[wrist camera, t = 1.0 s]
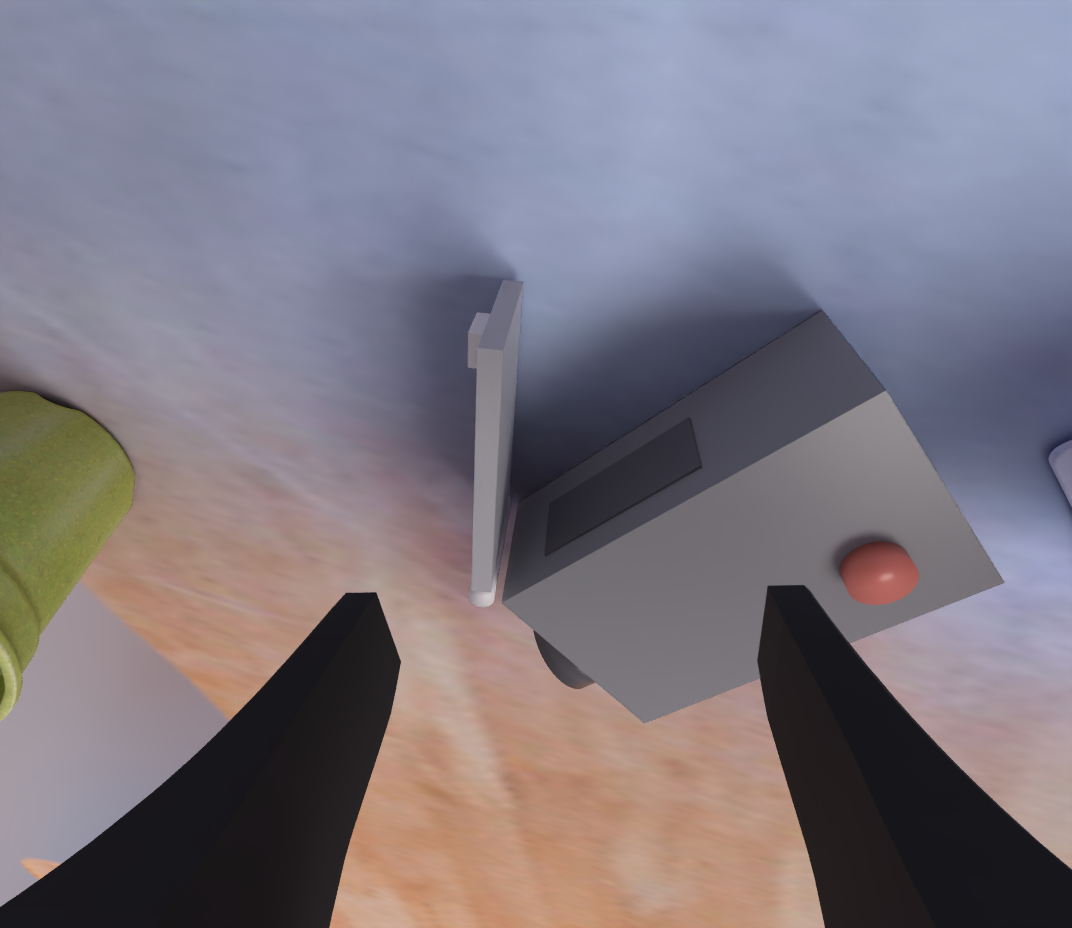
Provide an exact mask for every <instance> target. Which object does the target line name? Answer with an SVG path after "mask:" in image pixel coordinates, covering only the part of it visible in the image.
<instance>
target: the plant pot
mask: <svg viewBox="0 0 1072 928" xmlns="http://www.w3.org/2000/svg"><path fill="white" fill-rule="evenodd" d="M134 484H135V475H134V471H133V468H132V466H131V463H130V461H129V459H128V458H127V456H126V454H125V453H124V451H123V450H122V448H121V447H120V446H119V444H118V443H117V442H116V441H115V440H114V439H113V437H112V436H111V435H110V434H109V433H108V432H107V431H106V430H105V429H104V428H103V427H101V426H100V425H99V424H98V423H97V422H95V421H94V420H93V419H91V418H90V417H88V416H87V415H86V414H84V413H83V412H80V411H78V410H74V409H70V408H66V407H62V406H59V405H56V404H54V403H52V402H49V401H47V400H45V399H43V398H42V397H40V396H39V395H38V394H37V393H33V392H25V391H6V392H0V721H1V720H2V719H4V718H5V717H6V716H7V714H8V713H9V712H10V711H11V709H12V708H13V707H14V706H15V704H16V702H17V700H18V698H19V696H20V692H21V688H22V673H23V671H24V670H25V668H26V667H27V665H28V663H29V662H30V661H31V659H32V657H33V656H34V654H35V652H36V649H37V646H38V642H39V636H40V635H41V633H42V632H43V630H44V629H45V627H46V626H47V625H48V623H49V622H50V620H51V619H52V618H53V616H54V615H55V613H56V612H57V610H58V609H59V608H60V606H61V605H62V603H63V602H64V600H65V599H66V597H67V596H68V595H69V593H70V592H71V591H72V589H73V588H74V586H75V585H76V584H77V582H78V581H79V579H80V578H81V577H82V575H83V574H84V572H85V571H86V569H87V568H88V567H89V565H90V564H91V562H92V561H93V560H94V558H95V557H96V555H97V554H98V552H99V551H100V550H101V548H102V547H103V546H104V544H105V543H106V541H107V540H108V539H109V537H110V536H111V534H112V533H113V532H114V530H115V529H116V528H117V526H118V525H119V523H120V522H121V520H122V519H123V518H124V516H125V515H126V513H127V512H128V511H129V509H130V508H131V506H132V501H133V491H134Z"/></svg>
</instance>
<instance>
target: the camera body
mask: <svg viewBox="0 0 1072 928" xmlns="http://www.w3.org/2000/svg"><path fill="white" fill-rule="evenodd" d="M1003 583H1005V582H1004V581H1003V579H1002V577H1001V576H1000V574H999V572H998V571H997V569H996V568H995V566H994V564H993V563H992V561H991V559H990V558H989V556H988V555H987V553H986V551H985V550H984V548H983V546H982V545H981V543H980V542H979V540H978V538H977V537H976V535H975V534H974V532H973V530H972V529H971V527H970V525H969V524H968V522H967V521H966V519H965V517H964V516H963V514H962V512H961V511H960V509H959V508H958V506H957V504H956V503H955V501H954V499H953V498H952V496H951V495H950V493H949V491H948V490H947V488H946V486H945V485H944V483H943V482H942V480H941V478H940V477H939V475H938V473H937V472H936V470H935V469H934V467H933V465H932V464H931V462H930V460H929V459H928V457H927V456H926V454H925V452H924V451H923V449H922V447H921V446H920V444H919V443H918V441H917V439H916V438H915V436H914V434H913V433H912V431H911V430H910V428H909V426H908V425H907V423H906V422H905V420H904V418H903V417H902V415H901V413H900V412H899V410H898V409H897V407H896V405H895V404H894V402H893V400H892V399H891V397H890V396H889V394H888V392H887V391H886V389H885V388H884V387H883V386H882V384H881V383H880V382H879V381H878V379H877V378H876V377H875V375H874V374H873V373H872V372H871V370H870V369H869V368H868V367H867V365H866V364H865V363H864V362H863V360H862V359H861V358H860V357H859V355H858V354H857V353H856V352H855V350H854V349H853V348H852V347H851V345H850V344H849V343H848V341H847V340H846V339H845V338H844V336H843V335H842V334H841V333H840V331H839V330H838V329H837V328H836V326H835V325H834V324H833V323H832V321H831V320H830V319H829V318H828V316H827V315H826V314H825V313H824V311H823V310H821V311H820V312H818V313H817V314H815V315H813V316H812V317H810V318H809V319H807V320H805V321H804V322H802V323H801V324H799V325H798V326H796V327H794V328H793V329H791V330H790V331H788V332H787V333H785V334H783V335H782V336H780V337H779V338H777V339H776V340H774V341H772V342H771V343H769V344H768V345H766V346H765V347H763V348H761V349H760V350H758V351H757V352H755V353H754V354H752V355H750V356H749V357H747V358H746V359H744V360H742V361H741V362H739V363H738V364H736V365H735V366H733V367H731V368H730V369H728V370H727V371H725V372H724V373H722V374H720V375H719V376H717V377H716V378H714V379H713V380H711V381H709V382H708V383H706V384H705V385H703V386H702V387H700V388H698V389H697V390H695V391H694V392H692V393H691V394H689V395H687V396H686V397H684V398H683V399H681V400H679V401H678V402H676V403H675V404H673V405H672V406H670V407H668V408H667V409H665V410H664V411H662V412H661V413H659V414H657V415H656V416H654V417H653V418H651V419H650V420H648V421H646V422H645V423H643V424H642V425H640V426H639V427H637V428H635V429H634V430H632V431H631V432H629V433H628V434H626V435H624V436H623V437H621V438H620V439H618V440H617V441H615V442H613V443H612V444H610V445H609V446H607V447H605V448H604V449H602V450H601V451H599V452H598V453H596V454H594V455H593V456H591V457H590V458H588V459H587V460H585V461H583V462H582V463H580V464H579V465H577V466H576V467H574V468H572V469H571V470H569V471H568V472H566V473H565V474H563V475H561V476H560V477H558V478H557V479H555V480H554V481H552V482H550V483H549V484H547V485H546V486H544V487H542V488H541V489H539V490H538V491H536V492H535V493H533V494H531V495H530V496H528V497H527V498H525V499H524V500H522V501H520V502H519V503H518V509H517V515H516V521H515V527H514V532H513V538H512V544H511V550H510V556H509V562H508V568H507V574H506V580H505V586H504V592H503V598H502V604H504V605H505V606H506V607H507V608H508V609H510V610H511V611H512V612H513V613H514V614H515V615H517V616H518V617H519V618H520V619H521V620H523V621H524V622H525V623H526V624H527V625H528V626H530V627H531V628H532V629H533V630H534V635H535V639H536V642H537V645H538V648H539V651H540V653H541V655H542V657H543V659H544V661H545V662H546V664H547V666H548V667H549V669H550V670H551V671H552V673H553V674H554V675H555V676H556V677H557V678H558V679H559V680H560V681H561V682H562V683H564V684H565V685H567V686H569V687H571V688H574V689H581V688H584V687H586V686H588V685H591V684H593V683H595V682H596V683H597V684H598V685H600V686H601V687H602V688H603V689H604V690H605V691H607V692H608V693H609V694H610V695H611V696H613V697H614V698H615V699H616V700H617V701H618V702H620V703H621V704H622V705H623V706H624V707H626V708H627V709H628V710H629V711H630V712H631V713H633V714H634V715H635V716H636V717H637V718H639V719H640V720H641V721H642V722H643V723H647V722H649V721H652V720H654V719H657V718H659V717H662V716H664V715H667V714H670V713H672V712H675V711H677V710H680V709H682V708H685V707H688V706H690V705H693V704H695V703H698V702H700V701H703V700H705V699H708V698H711V697H713V696H716V695H718V694H721V693H723V692H726V691H729V690H731V689H734V688H736V687H739V686H741V685H744V684H746V683H749V682H752V681H754V680H757V679H759V678H760V674H759V668H758V663H757V659H758V651H759V644H760V637H761V630H762V623H763V616H764V608H765V601H766V594H767V587H768V586H774V585H805V586H806V587H807V588H808V589H809V590H810V591H811V593H812V594H813V595H814V597H815V598H816V600H817V601H818V602H819V604H820V605H821V606H822V608H823V609H824V611H825V612H826V613H827V615H828V616H829V617H830V619H831V620H832V621H833V623H834V624H835V625H836V627H837V628H838V629H839V631H840V632H841V633H842V634H843V636H844V637H845V638H846V640H847V641H848V642H849V643H851V642H854V641H857V640H859V639H862V638H864V637H867V636H869V635H872V634H874V633H877V632H880V631H882V630H885V629H887V628H890V627H892V626H895V625H898V624H900V623H903V622H905V621H908V620H910V619H913V618H915V617H918V616H921V615H923V614H926V613H928V612H931V611H933V610H936V609H938V608H941V607H944V606H946V605H949V604H951V603H954V602H956V601H959V600H962V599H964V598H967V597H969V596H972V595H974V594H977V593H979V592H982V591H985V590H987V589H990V588H992V587H995V586H997V585H1000V584H1003Z"/></svg>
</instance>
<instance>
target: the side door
mask: <svg viewBox="0 0 1072 928" xmlns="http://www.w3.org/2000/svg"><path fill="white" fill-rule="evenodd" d="M522 296H523V282H522V281H513V280H503V281H502V284H501V286H500V289H499V292H498V294H497V297H496V300H495V302H494V305H493V308H492V310H491V313H490V314H488V313H479V312H477V313H476V315H475V318H474V320H473V322H472V325H471V327H470V329H469V332H468V368H475V369H477V381H476V423H475V464H474V506H473V547H472V581H471V586H470V590H469V594H468V599H469V601H470V602H471V603H472V604H473V605H475V606H478V607H488V606H490V605H491V604H492V603H493V602H494V597H495V591H496V586H497V580H498V575H499V569H500V564H501V558H502V553H503V547H504V542H505V536H506V531H507V525H508V520H509V514H510V509H511V503H512V501H511V498H510V497H509V494H510V479H511V463H512V448H513V433H514V418H515V402H516V387H517V372H518V357H519V342H520V326H521V311H522Z"/></svg>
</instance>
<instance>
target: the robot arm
mask: <svg viewBox="0 0 1072 928" xmlns="http://www.w3.org/2000/svg"><path fill="white" fill-rule="evenodd" d="M1049 463H1050V465H1051V467H1052V469H1053V471H1054V473H1055V475H1056V477H1057V479H1058V481H1059V483H1060V485H1061V487H1062V489H1063V491H1064V493H1065V495H1066V497H1067V499H1068V501H1069V503H1070V505H1071V507H1072V440H1070V441H1068V442H1066V443H1063V444H1061V445H1059V446H1058V447H1056V448H1055V449H1054V450H1053V451H1052V452H1051V453H1050V456H1049ZM757 663H758V668H759V674H760V680H761V685H762V691H763V696H764V702H765V707H766V712H767V717H768V721H769V724H770V727H771V731H772V734H773V738H774V741H775V744H776V748H777V751H778V754H779V758H780V761H781V764H782V768H783V771H784V774H785V778H786V781H787V784H788V787H789V791H790V794H791V797H792V801H793V804H794V807H795V811H796V814H797V817H798V820H799V824H800V827H801V830H802V834H803V837H804V840H805V844H806V847H807V851H808V854H809V858H810V862H811V866H812V870H813V873H814V877H815V882H816V887H817V891H818V896H819V901H820V906H821V910H822V915H823V920H824V925H825V928H1072V869H1070V868H1069V867H1068V866H1067V865H1066V864H1064V863H1063V862H1062V861H1061V860H1060V859H1059V858H1057V857H1056V856H1055V855H1054V854H1053V853H1051V852H1050V851H1049V850H1048V849H1047V848H1045V847H1044V846H1043V845H1042V844H1041V843H1040V842H1039V841H1037V840H1036V839H1035V838H1034V837H1033V836H1032V835H1031V834H1030V833H1029V832H1028V831H1026V830H1025V829H1024V828H1023V827H1022V826H1021V825H1020V824H1019V823H1018V822H1017V821H1015V820H1014V819H1013V818H1012V817H1011V816H1010V815H1009V814H1008V813H1007V812H1006V811H1004V810H1003V809H1002V808H1001V807H1000V806H999V805H998V804H997V803H996V802H995V801H994V800H993V799H992V798H991V797H990V796H989V795H988V794H986V793H985V792H984V791H983V790H982V789H981V788H980V787H979V786H978V785H977V784H976V783H975V782H974V781H973V780H972V779H971V778H970V777H969V776H968V775H967V774H966V773H965V772H964V771H963V770H962V769H961V768H960V767H959V766H958V765H957V764H956V763H955V762H954V761H953V760H952V759H951V758H950V757H949V756H948V755H947V754H946V753H945V752H944V751H943V750H942V749H941V748H940V747H939V746H938V745H937V744H936V743H935V741H934V740H933V739H932V738H931V737H930V736H929V735H928V734H927V733H926V732H925V731H924V730H923V729H922V728H921V726H920V725H919V724H918V723H917V722H916V721H915V720H914V719H913V718H912V717H911V716H910V715H909V713H908V712H907V711H906V710H905V709H904V708H903V707H902V706H901V704H900V703H899V702H898V701H897V700H896V699H895V698H894V696H893V695H892V694H891V693H890V692H889V691H888V689H887V688H886V687H885V686H884V685H883V683H882V682H881V681H880V680H879V679H878V678H877V676H876V675H875V674H874V673H873V672H872V671H871V669H870V668H869V667H868V666H867V665H866V663H865V662H864V661H863V660H862V658H861V657H860V656H859V655H858V653H857V652H856V651H855V650H854V648H853V647H852V646H851V645H850V643H849V642H848V641H847V640H846V638H845V637H844V636H843V634H842V633H841V632H840V631H839V629H838V628H837V627H836V625H835V624H834V623H833V621H832V620H831V619H830V617H829V616H828V615H827V613H826V612H825V611H824V609H823V608H822V606H821V605H820V604H819V602H818V601H817V600H816V598H815V597H814V595H813V594H812V593H811V591H810V590H809V589H808V588H807V587H806V586H805V585H774V586H768V587H767V594H766V601H765V608H764V616H763V623H762V630H761V637H760V644H759V651H758V659H757ZM400 664H401V661H400V658H399V655H398V652H397V649H396V647H395V644H394V641H393V638H392V635H391V633H390V630H389V627H388V624H387V621H386V619H385V616H384V613H383V610H382V607H381V604H380V602H379V599H378V596H377V593H376V592H371V593H346V594H345V595H344V596H343V597H342V598H341V599H340V600H339V601H338V602H337V603H336V605H335V606H334V607H333V608H332V609H331V610H330V611H329V612H328V614H327V615H326V616H325V617H324V618H323V619H322V621H321V622H320V623H319V624H318V625H317V626H316V627H315V629H314V630H313V631H312V632H311V633H310V634H309V636H308V637H307V638H306V639H305V640H304V641H303V642H302V644H301V645H300V646H299V647H298V648H297V649H296V650H295V652H294V653H293V654H292V655H291V656H290V657H289V658H288V659H287V661H286V662H285V663H284V664H283V665H282V666H281V667H280V668H279V669H278V670H277V672H276V673H275V674H274V675H273V676H272V677H271V678H270V679H269V680H268V682H267V683H266V684H265V685H264V686H263V687H262V688H261V689H260V690H259V691H258V692H257V693H256V695H255V696H254V697H253V698H252V699H251V700H250V701H249V702H248V703H247V704H246V705H245V706H244V707H243V708H242V709H241V710H240V711H239V712H238V713H237V714H236V715H235V716H234V717H233V718H232V719H231V720H230V721H229V722H228V723H227V724H226V725H225V727H223V728H222V729H221V731H219V732H218V733H217V734H216V736H214V737H213V738H212V739H211V740H210V741H209V742H208V743H207V744H206V745H205V746H204V747H203V748H202V749H201V750H200V751H199V752H198V753H197V754H195V755H194V756H193V757H192V758H191V759H190V760H189V761H188V762H187V763H186V764H184V765H183V766H182V767H181V768H180V769H179V770H178V771H177V772H175V774H173V775H172V776H171V777H170V778H169V779H168V780H166V781H165V782H164V783H163V784H162V785H161V786H160V787H159V788H157V789H156V790H155V791H154V792H153V793H151V794H150V795H149V796H148V797H146V798H145V799H144V800H143V801H141V802H140V803H139V804H138V805H136V806H135V807H134V808H133V809H131V810H130V811H129V812H128V813H126V814H125V815H124V816H123V817H122V818H120V819H119V820H118V821H117V822H115V823H114V824H113V825H112V826H110V827H109V828H108V829H107V830H105V831H104V832H103V833H102V834H101V835H99V836H98V837H97V838H95V839H94V840H93V841H92V842H90V843H89V844H88V845H86V846H85V847H84V848H82V849H81V850H80V851H78V852H77V853H75V854H74V855H73V856H71V857H70V858H69V859H67V860H66V861H65V862H63V863H62V864H61V865H59V866H58V867H57V868H55V869H54V870H52V871H51V872H50V873H48V874H47V875H45V876H44V877H43V878H41V879H40V880H38V881H37V882H36V883H34V884H33V885H31V886H30V887H29V888H27V889H26V890H24V891H23V892H21V893H20V894H19V895H17V896H16V897H14V898H13V899H11V900H10V901H8V902H7V903H5V904H4V905H3V906H1V907H0V928H329V926H330V921H331V917H332V912H333V908H334V904H335V899H336V895H337V890H338V886H339V882H340V877H341V873H342V869H343V864H344V860H345V856H346V853H347V849H348V846H349V842H350V839H351V835H352V832H353V829H354V826H355V823H356V820H357V817H358V814H359V811H360V808H361V804H362V801H363V798H364V795H365V792H366V789H367V786H368V783H369V780H370V777H371V774H372V771H373V768H374V765H375V762H376V759H377V756H378V753H379V749H380V746H381V743H382V740H383V737H384V734H385V731H386V728H387V724H388V721H389V718H390V715H391V710H392V705H393V701H394V696H395V691H396V686H397V680H398V675H399V669H400Z"/></svg>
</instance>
